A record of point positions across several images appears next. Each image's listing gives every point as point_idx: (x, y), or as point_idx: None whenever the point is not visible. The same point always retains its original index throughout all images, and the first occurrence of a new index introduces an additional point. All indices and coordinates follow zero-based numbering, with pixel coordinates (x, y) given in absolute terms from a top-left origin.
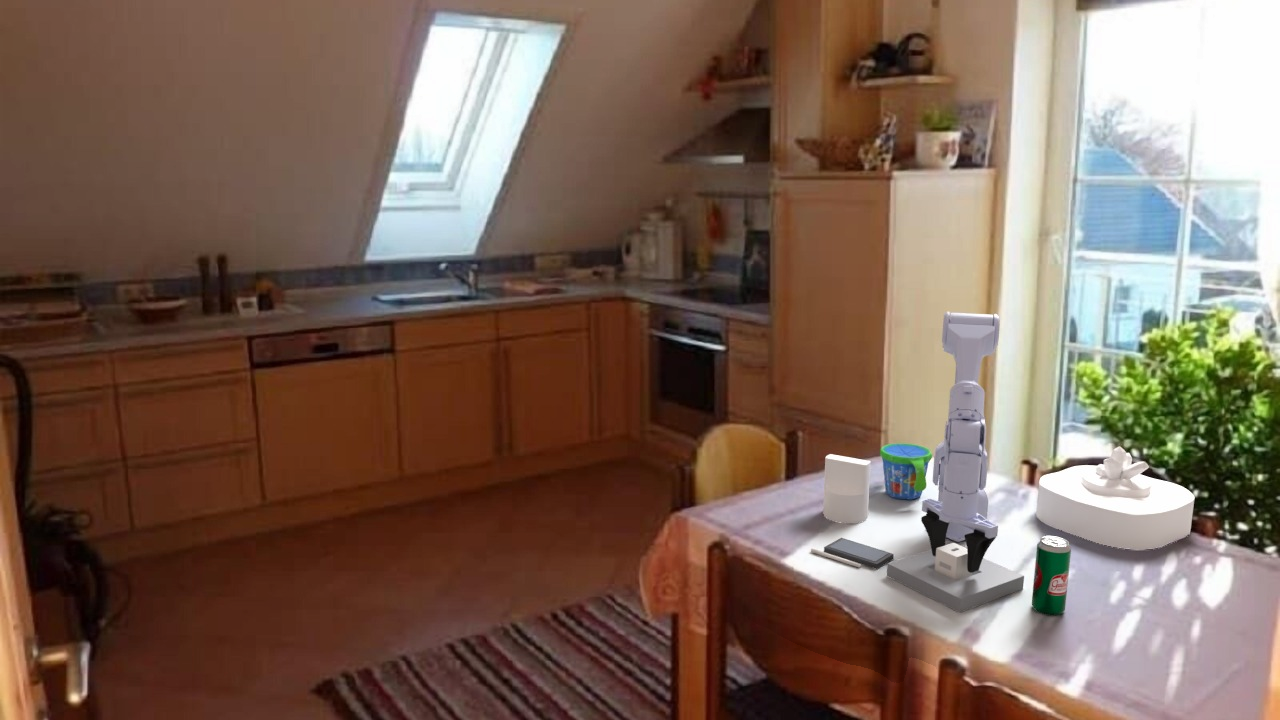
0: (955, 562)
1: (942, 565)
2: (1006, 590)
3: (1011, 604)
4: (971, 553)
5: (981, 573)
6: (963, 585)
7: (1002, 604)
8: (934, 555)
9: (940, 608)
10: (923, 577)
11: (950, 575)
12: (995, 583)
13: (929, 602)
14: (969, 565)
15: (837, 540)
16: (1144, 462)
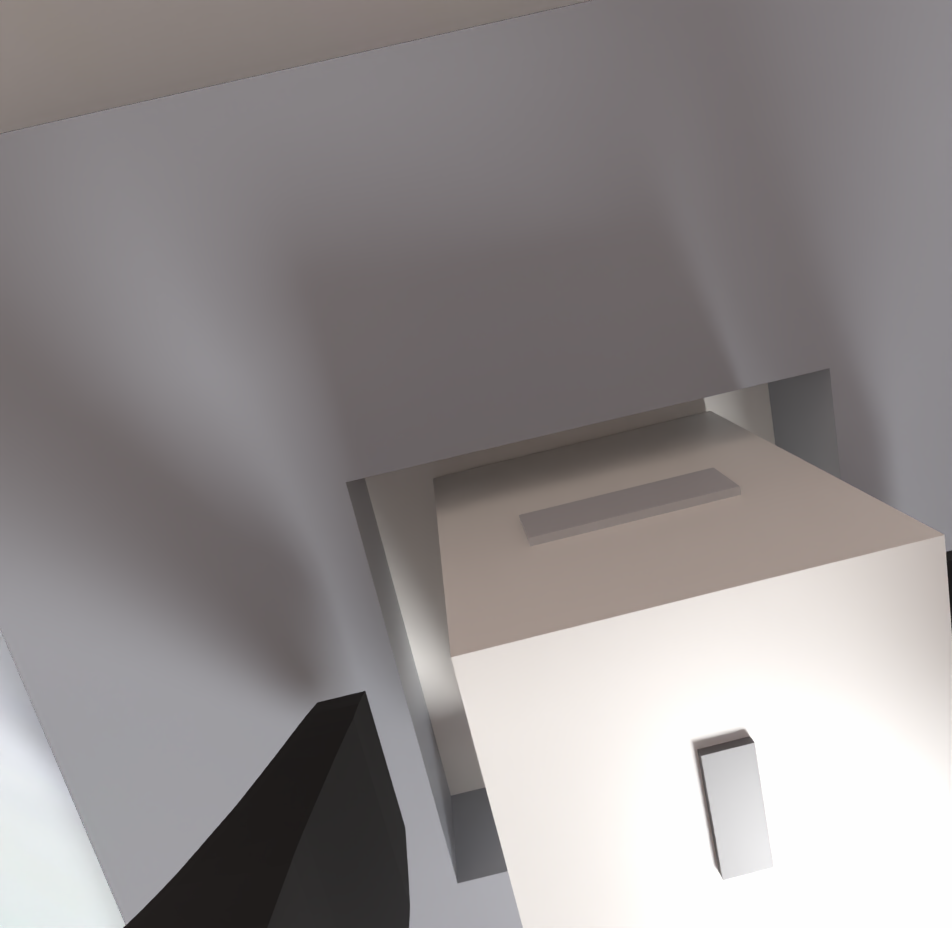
0: (464, 600)
1: (667, 486)
2: None
3: (5, 801)
4: (168, 917)
5: (425, 855)
6: (192, 474)
7: (24, 728)
8: (949, 552)
9: (84, 36)
10: (585, 95)
11: (513, 500)
12: (148, 853)
13: (262, 7)
14: (303, 744)
15: None
16: None
